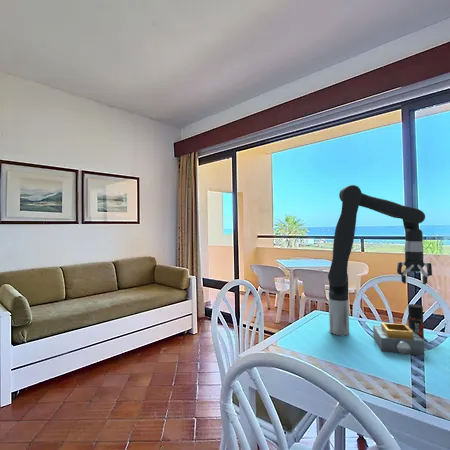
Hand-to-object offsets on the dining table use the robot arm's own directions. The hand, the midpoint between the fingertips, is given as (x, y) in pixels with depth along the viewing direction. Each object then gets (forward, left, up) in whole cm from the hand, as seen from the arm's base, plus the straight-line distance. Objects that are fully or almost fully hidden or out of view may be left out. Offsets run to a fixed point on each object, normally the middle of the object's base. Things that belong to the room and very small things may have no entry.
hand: (414, 283), depth 139 cm
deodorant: (0, 0, -26) cm, 26 cm away
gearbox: (-12, -14, -26) cm, 32 cm away
